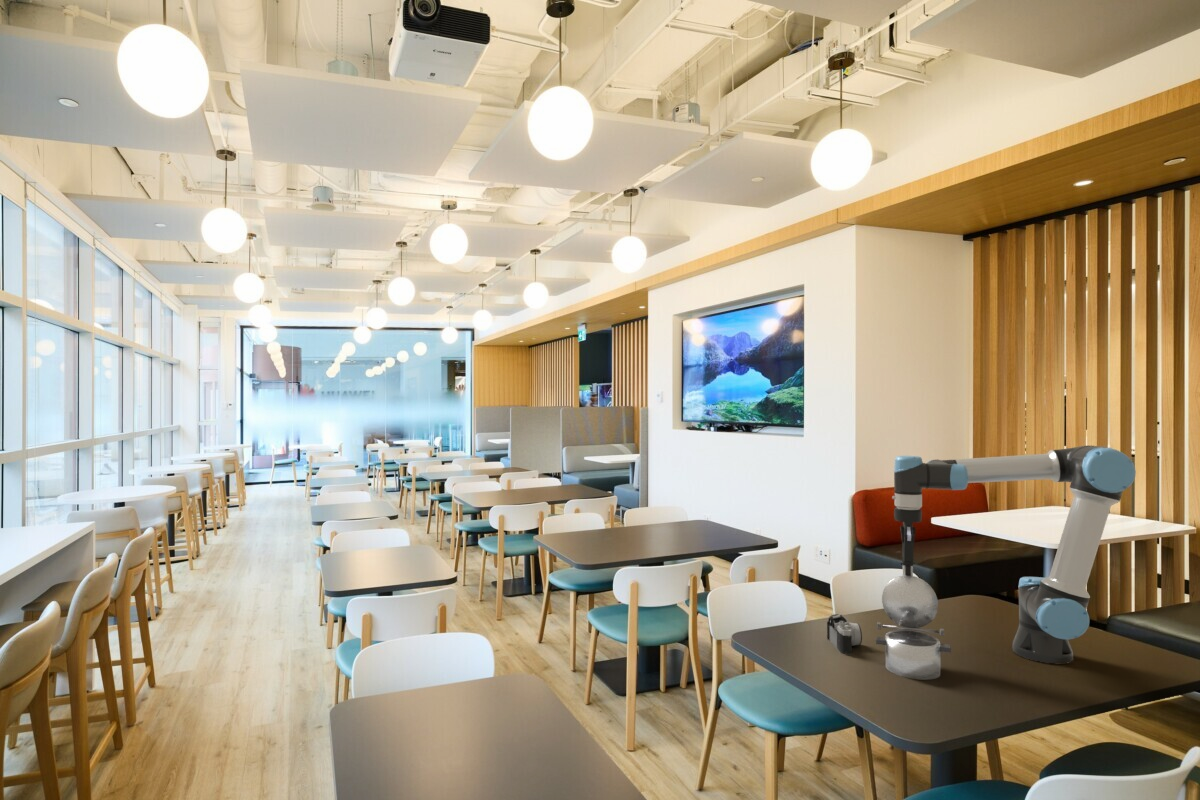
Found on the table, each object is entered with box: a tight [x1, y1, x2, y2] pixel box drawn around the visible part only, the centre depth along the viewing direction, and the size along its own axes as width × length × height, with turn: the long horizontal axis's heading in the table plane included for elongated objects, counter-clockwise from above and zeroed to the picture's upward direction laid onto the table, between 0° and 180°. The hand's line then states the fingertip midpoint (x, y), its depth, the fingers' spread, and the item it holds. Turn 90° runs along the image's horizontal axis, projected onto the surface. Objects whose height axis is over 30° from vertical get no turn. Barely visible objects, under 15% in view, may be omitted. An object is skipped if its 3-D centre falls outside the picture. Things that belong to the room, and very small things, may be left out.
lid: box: [881, 575, 940, 634], centre depth 198 cm, size 16×15×3 cm
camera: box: [826, 613, 863, 655], centre depth 208 cm, size 16×9×10 cm, turn 177°
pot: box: [875, 621, 952, 681], centre depth 189 cm, size 16×19×10 cm
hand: (907, 586), depth 200 cm, fingers closed
